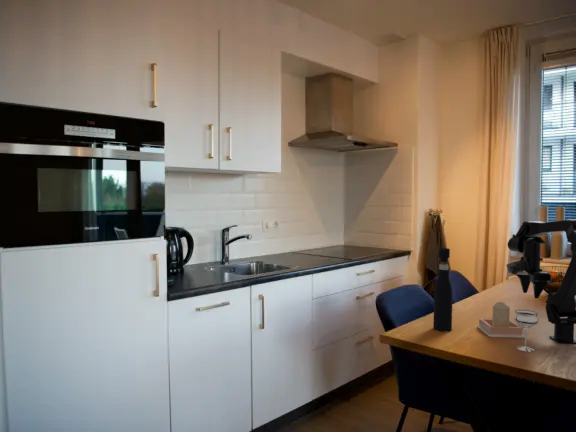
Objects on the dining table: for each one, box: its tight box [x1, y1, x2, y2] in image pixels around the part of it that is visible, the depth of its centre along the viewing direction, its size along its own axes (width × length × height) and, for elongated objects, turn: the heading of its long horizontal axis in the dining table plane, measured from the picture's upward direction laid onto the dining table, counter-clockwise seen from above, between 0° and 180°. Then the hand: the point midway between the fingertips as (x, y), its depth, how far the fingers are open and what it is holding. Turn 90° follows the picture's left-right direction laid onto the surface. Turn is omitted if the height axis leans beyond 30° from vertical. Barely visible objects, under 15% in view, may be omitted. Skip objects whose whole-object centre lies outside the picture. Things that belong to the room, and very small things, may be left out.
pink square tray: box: [476, 318, 525, 339], centre depth 161 cm, size 12×12×3 cm
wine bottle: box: [433, 247, 454, 332], centre depth 164 cm, size 6×6×30 cm
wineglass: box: [514, 309, 539, 352], centre depth 143 cm, size 7×7×12 cm
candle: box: [492, 301, 511, 327], centre depth 161 cm, size 6×6×10 cm
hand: (530, 295), depth 168 cm, fingers open, 9 cm apart
